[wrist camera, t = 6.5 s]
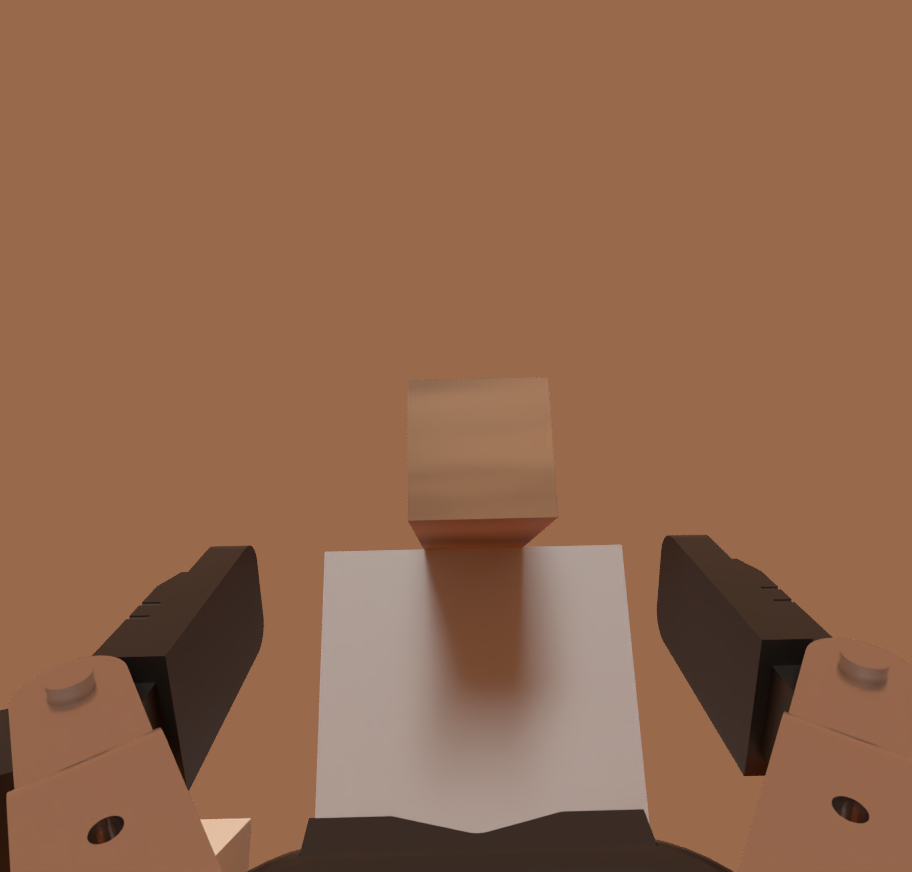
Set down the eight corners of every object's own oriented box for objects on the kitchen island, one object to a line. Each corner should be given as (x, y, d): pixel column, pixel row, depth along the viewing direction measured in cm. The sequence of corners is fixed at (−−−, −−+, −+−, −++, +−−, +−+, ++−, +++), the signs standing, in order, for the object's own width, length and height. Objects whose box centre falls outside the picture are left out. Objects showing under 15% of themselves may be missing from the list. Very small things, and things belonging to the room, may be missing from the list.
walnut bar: (436, 570, 39) (435, 510, 40) (497, 569, 39) (494, 508, 40) (407, 520, 16) (407, 379, 17) (558, 517, 16) (547, 377, 17)
